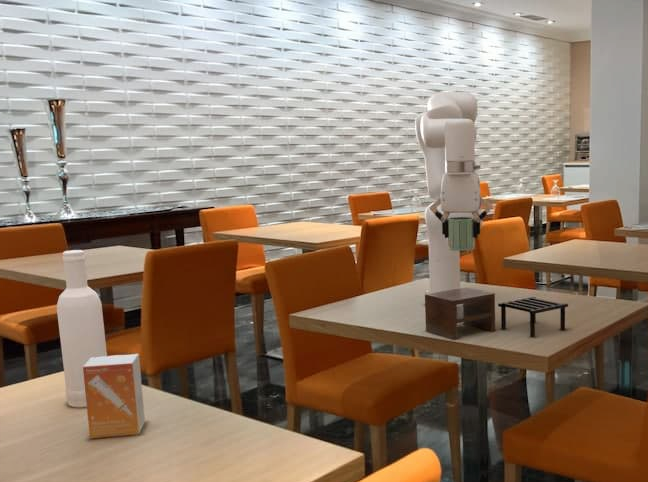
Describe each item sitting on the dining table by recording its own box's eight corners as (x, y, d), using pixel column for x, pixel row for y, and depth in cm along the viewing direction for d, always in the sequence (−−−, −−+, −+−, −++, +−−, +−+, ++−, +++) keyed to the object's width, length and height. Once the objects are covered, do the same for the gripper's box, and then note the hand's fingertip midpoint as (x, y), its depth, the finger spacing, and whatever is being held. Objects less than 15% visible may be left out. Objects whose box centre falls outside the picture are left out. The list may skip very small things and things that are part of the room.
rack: (498, 329, 200) (497, 303, 199) (533, 321, 208) (533, 296, 206) (532, 338, 190) (532, 311, 188) (568, 329, 198) (568, 303, 196)
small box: (89, 439, 128) (81, 366, 126) (98, 426, 134) (90, 356, 132) (140, 434, 130) (132, 362, 128) (146, 422, 136) (139, 352, 134)
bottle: (67, 410, 143) (49, 255, 138) (67, 399, 150) (49, 250, 145) (113, 403, 147) (97, 251, 142) (110, 392, 154) (95, 247, 149)
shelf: (425, 331, 199) (424, 294, 198) (466, 322, 208) (466, 287, 206) (453, 339, 190) (452, 300, 188) (495, 330, 199) (494, 293, 197)
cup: (443, 249, 196) (442, 218, 195) (463, 246, 200) (463, 216, 199) (459, 251, 191) (458, 220, 189) (479, 249, 195) (479, 218, 193)
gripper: (495, 167, 194) (495, 235, 197) (428, 168, 196) (430, 235, 200) (493, 168, 187) (493, 239, 190) (424, 169, 189) (426, 239, 192)
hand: (461, 236), depth 195 cm, fingers closed on cup, 7 cm apart
